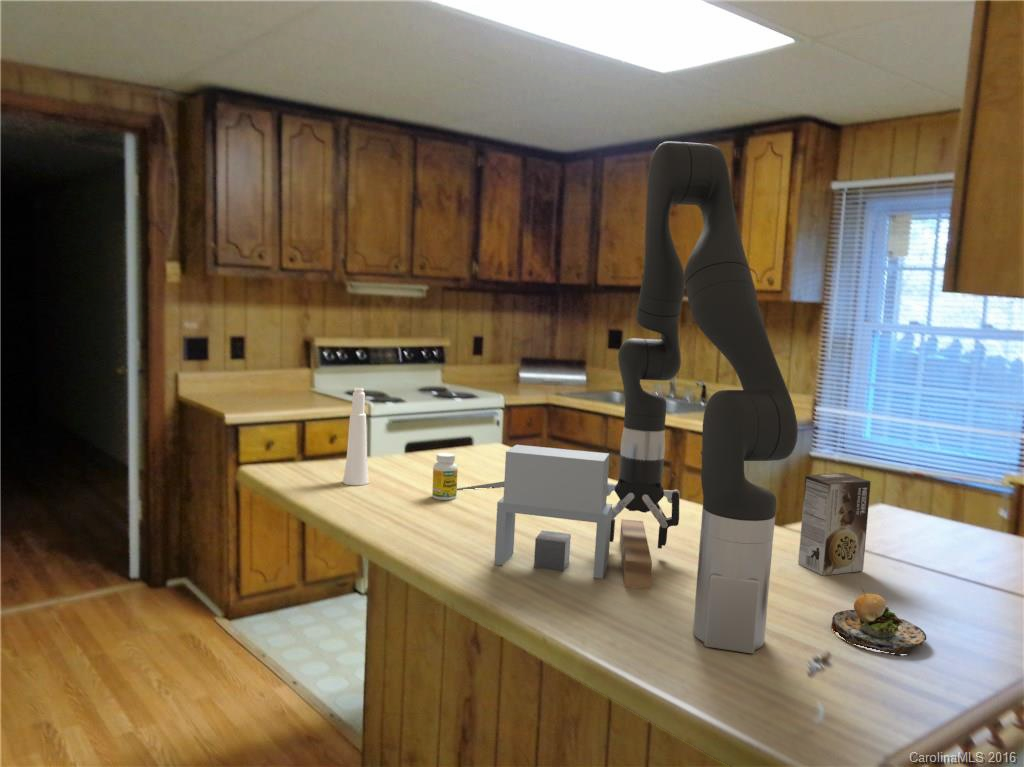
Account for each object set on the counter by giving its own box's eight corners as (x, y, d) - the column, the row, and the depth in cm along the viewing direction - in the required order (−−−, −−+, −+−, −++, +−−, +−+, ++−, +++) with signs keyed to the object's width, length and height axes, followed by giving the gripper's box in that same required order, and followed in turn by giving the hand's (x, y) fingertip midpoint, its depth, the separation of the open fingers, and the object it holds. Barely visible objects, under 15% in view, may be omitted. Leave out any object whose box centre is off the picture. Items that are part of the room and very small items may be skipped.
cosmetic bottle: (346, 479, 182) (349, 386, 180) (371, 480, 182) (374, 387, 180) (339, 484, 176) (342, 389, 174) (365, 486, 176) (369, 390, 174)
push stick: (650, 590, 120) (652, 562, 120) (624, 588, 121) (626, 560, 120) (641, 544, 144) (643, 521, 144) (619, 542, 144) (621, 519, 144)
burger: (924, 666, 98) (930, 609, 98) (825, 642, 104) (830, 589, 103) (926, 633, 109) (931, 582, 108) (836, 614, 115) (840, 565, 114)
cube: (563, 572, 126) (565, 542, 126) (533, 568, 127) (535, 538, 127) (569, 562, 131) (570, 533, 130) (540, 558, 132) (541, 530, 132)
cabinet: (602, 578, 124) (610, 461, 122) (494, 564, 128) (499, 451, 126) (608, 565, 130) (615, 454, 128) (505, 551, 135) (510, 444, 133)
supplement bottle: (446, 493, 174) (447, 451, 173) (461, 498, 170) (463, 455, 169) (427, 496, 170) (428, 453, 169) (442, 501, 166) (444, 457, 165)
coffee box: (836, 560, 140) (844, 472, 138) (864, 572, 134) (873, 480, 132) (795, 563, 136) (804, 473, 135) (822, 576, 130) (831, 482, 129)
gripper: (598, 453, 132) (592, 545, 134) (683, 462, 129) (675, 556, 131) (604, 445, 140) (598, 533, 142) (684, 453, 136) (677, 543, 138)
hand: (635, 544), depth 136 cm, fingers open, 8 cm apart
